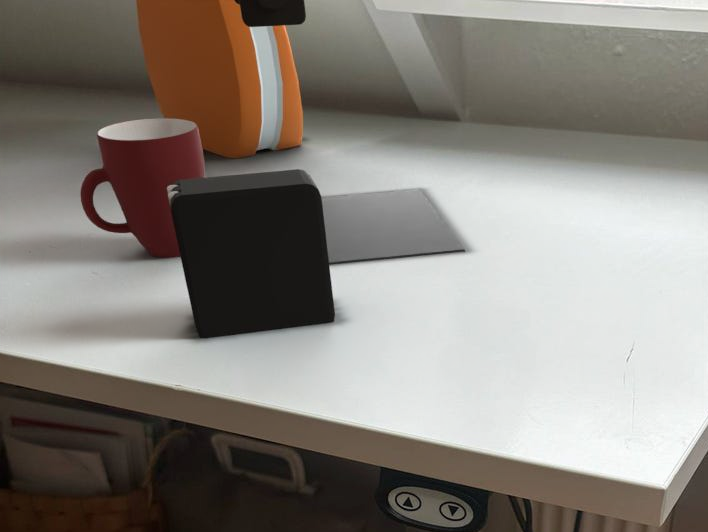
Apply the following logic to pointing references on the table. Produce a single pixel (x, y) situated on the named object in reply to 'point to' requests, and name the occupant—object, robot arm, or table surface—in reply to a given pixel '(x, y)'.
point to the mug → (145, 177)
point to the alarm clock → (222, 75)
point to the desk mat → (384, 227)
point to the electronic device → (253, 251)
